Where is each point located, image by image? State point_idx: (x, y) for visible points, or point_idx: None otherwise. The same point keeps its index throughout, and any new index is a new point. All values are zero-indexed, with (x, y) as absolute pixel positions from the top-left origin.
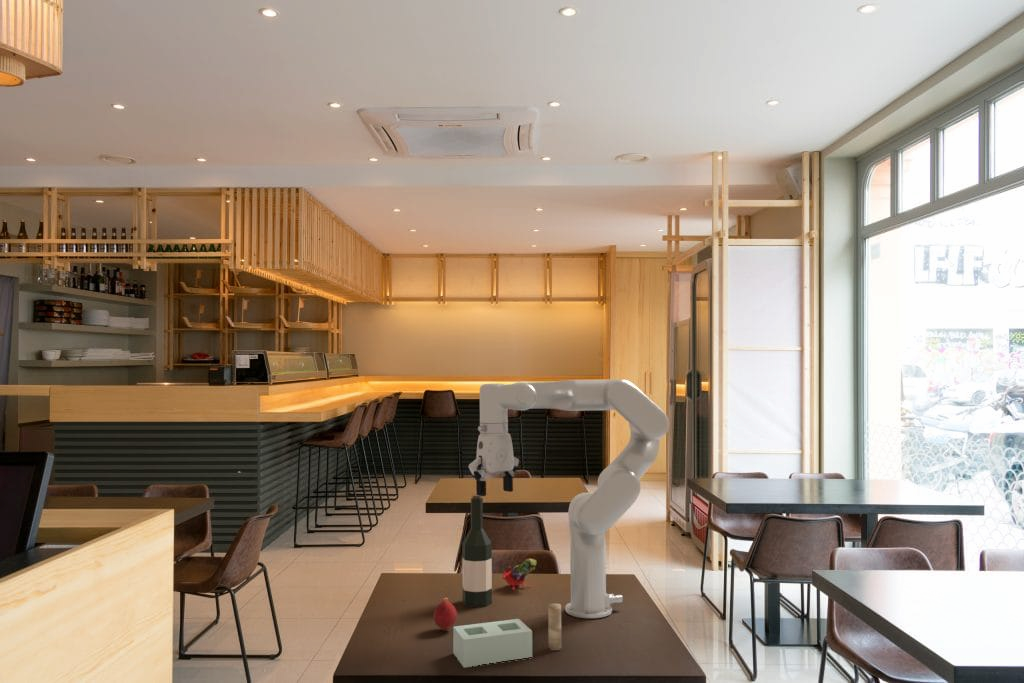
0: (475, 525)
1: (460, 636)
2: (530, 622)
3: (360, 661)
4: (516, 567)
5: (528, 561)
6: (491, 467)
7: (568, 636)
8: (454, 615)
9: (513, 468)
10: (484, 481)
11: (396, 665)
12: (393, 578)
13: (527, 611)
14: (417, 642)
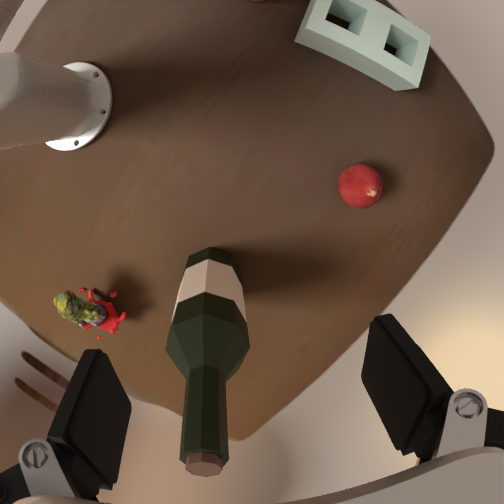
0: (219, 379)
1: (427, 51)
2: (197, 114)
3: (476, 165)
4: (96, 310)
5: (69, 304)
6: (490, 502)
7: (195, 18)
8: (356, 165)
9: (14, 500)
10: (447, 385)
11: (460, 120)
12: (250, 427)
13: (160, 172)
14: (407, 167)
